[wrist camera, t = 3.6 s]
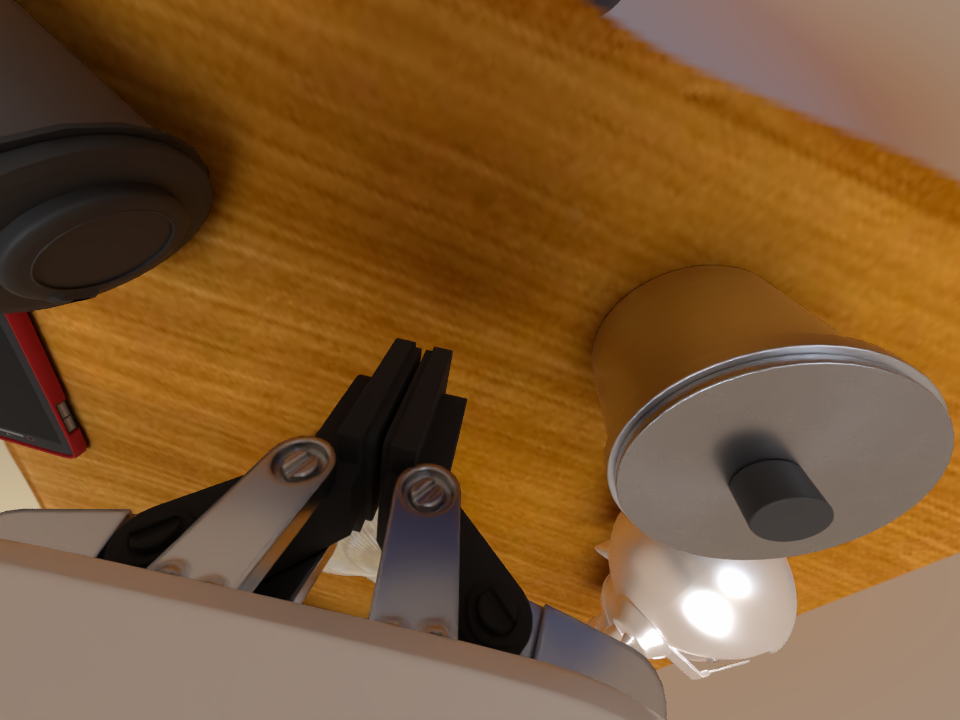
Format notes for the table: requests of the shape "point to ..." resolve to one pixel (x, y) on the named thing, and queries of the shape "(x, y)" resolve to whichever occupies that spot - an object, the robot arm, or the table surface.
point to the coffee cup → (81, 177)
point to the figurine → (692, 602)
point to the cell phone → (33, 393)
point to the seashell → (357, 553)
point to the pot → (757, 420)
